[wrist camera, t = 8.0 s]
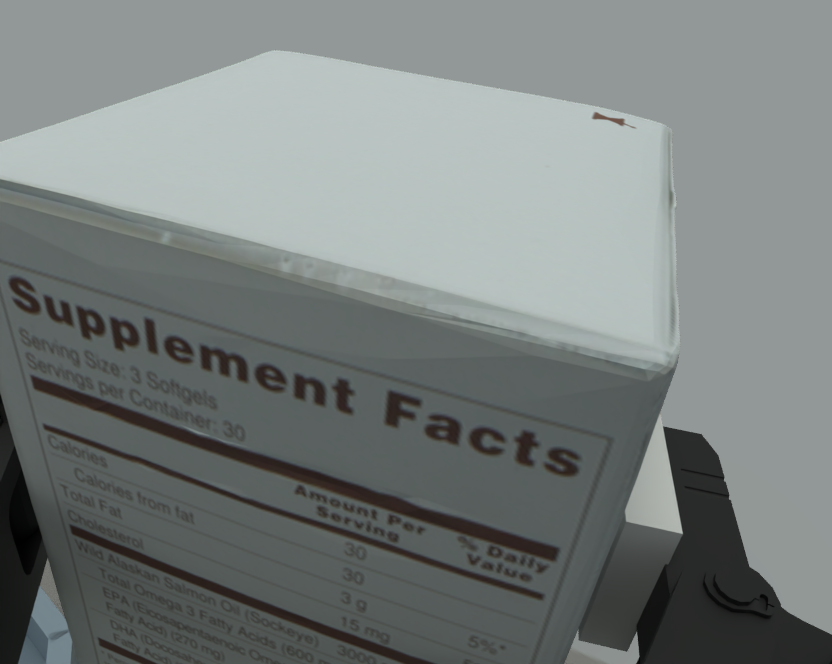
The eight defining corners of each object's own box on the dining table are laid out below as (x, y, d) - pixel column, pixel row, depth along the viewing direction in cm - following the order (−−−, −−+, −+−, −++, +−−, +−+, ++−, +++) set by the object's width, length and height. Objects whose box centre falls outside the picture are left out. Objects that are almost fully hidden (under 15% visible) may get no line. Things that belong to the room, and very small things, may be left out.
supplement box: (276, 516, 19) (275, 39, 12) (533, 604, 18) (692, 116, 11) (94, 784, 13) (-102, 143, 6) (460, 954, 12) (713, 351, 5)
